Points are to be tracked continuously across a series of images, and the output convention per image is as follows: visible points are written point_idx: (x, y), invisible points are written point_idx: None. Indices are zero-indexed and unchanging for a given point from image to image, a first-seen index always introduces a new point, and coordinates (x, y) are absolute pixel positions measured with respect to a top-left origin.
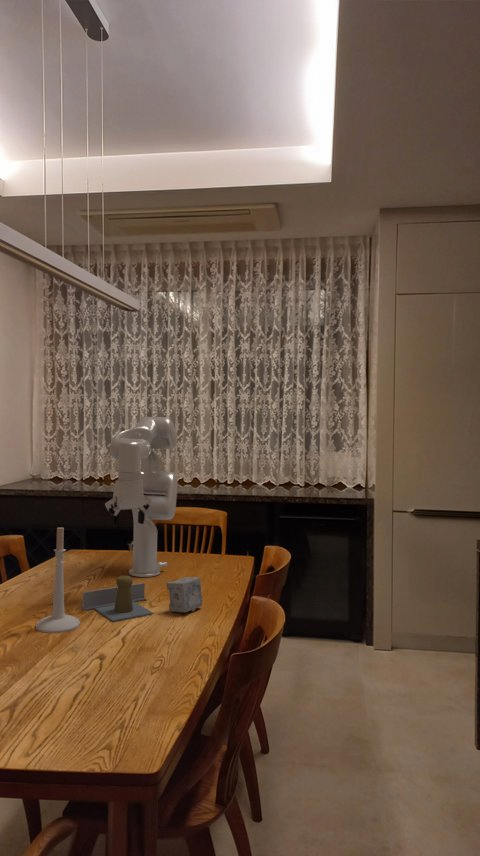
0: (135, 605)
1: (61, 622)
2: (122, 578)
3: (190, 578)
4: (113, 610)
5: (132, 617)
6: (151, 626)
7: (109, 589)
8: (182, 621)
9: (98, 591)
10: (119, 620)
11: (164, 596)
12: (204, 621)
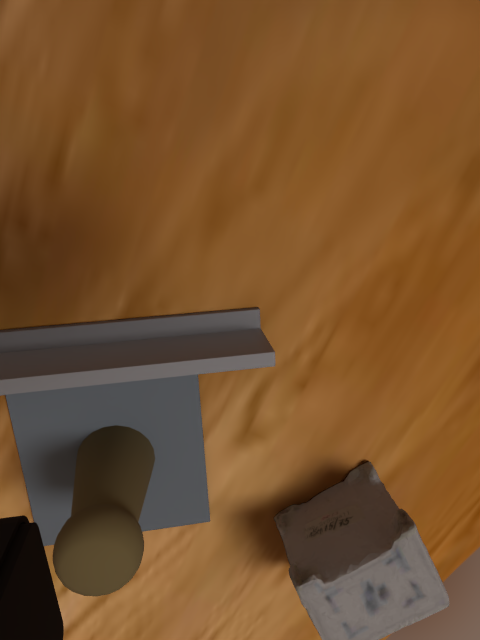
0: (182, 424)
1: None
2: (76, 588)
3: (413, 590)
4: (75, 448)
5: None
6: (155, 609)
7: (70, 386)
8: (266, 599)
9: (6, 392)
10: None
11: (353, 335)
12: None
